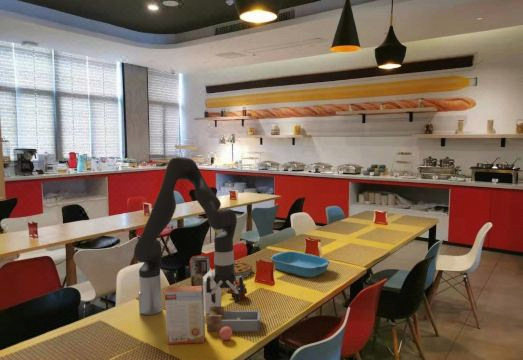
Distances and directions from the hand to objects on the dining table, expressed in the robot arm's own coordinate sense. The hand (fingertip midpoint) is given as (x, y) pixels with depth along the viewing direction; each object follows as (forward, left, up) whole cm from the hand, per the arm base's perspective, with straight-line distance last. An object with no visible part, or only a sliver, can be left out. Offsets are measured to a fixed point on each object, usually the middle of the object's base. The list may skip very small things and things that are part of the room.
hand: (225, 302), depth 152 cm
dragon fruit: (+1, +41, -15) cm, 44 cm away
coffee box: (-19, +54, -15) cm, 59 cm away
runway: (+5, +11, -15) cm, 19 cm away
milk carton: (-9, +26, -15) cm, 31 cm away
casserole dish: (+35, +81, -15) cm, 89 cm away
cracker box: (-16, 0, -15) cm, 22 cm away
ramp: (-5, +11, -15) cm, 19 cm away
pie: (-4, +76, -15) cm, 77 cm away
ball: (0, 0, -12) cm, 12 cm away
